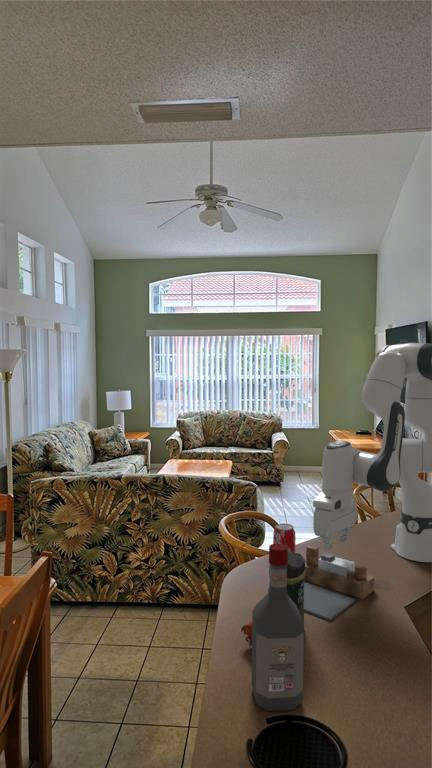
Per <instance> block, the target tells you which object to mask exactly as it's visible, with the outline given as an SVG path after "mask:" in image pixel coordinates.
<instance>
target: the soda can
mask: <svg viewBox="0 0 432 768" xmlns="http://www.w3.org/2000/svg"><path fill="white" fill-rule="evenodd" d="M294 528H295V527H294V526H293V524H290V523H278V524H276V525H275V528H274V530H273V535H272V536H273V541H272V544H284V545H286V546H288V551H290V552H294V553H296V530H295V529H294Z"/></svg>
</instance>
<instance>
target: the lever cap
mask: <svg viewBox="0 0 432 768" xmlns="http://www.w3.org/2000/svg"><path fill="white" fill-rule="evenodd" d="M318 560H319V562H318V569H319V570H322V571H325V572H328V573H332V574H335V575H338V576H341V577H345V578H348V577H349V576H350V575H352V574H353V573H355V566H356V565H355V564H356V562H355V561H350V560H347V559H344V558H341V557H337V556H336V554H334V553H329V552H324V553H323V554H320V558H318Z"/></svg>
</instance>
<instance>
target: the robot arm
mask: <svg viewBox="0 0 432 768" xmlns="http://www.w3.org/2000/svg"><path fill="white" fill-rule="evenodd" d="M405 379H406V385H405V395H404V396H405V398H404V399H405V400H404V402H405V403H404V406H403V405H402V403H401V394H402V391H403V387H404V384H405ZM361 400H362V402H363V404H364V407H365V408H366V409H367V410H368V411H369V412H370V413H372V414H373V415H375V416H376V417H378V418H380V419H381V421H382V423H383V433H382V440H381V446H380V451H379V452H378V453H373V452H367V451H362V450H360V449H358V448H356V447H355V446H353V445H352V443H351V442H350V441H347V440H334V441H330V442H328V443H327V444H326V445H325V447H324V449H323V453H322V462H321V463H322V464H321V466H322V467H321V474H322V477H323V478H322V484H321V491H319V493H318V495H317V496H316V497H315V498H314V499H313V501H312V507H313V508H314V510H313V524H312V525H313V533H314V535H315V536H316V537H319V538H322V541H323V548H324V550H326V551H330V550H332V549H333V543H332V542H331V538H332V535H335V534H336V533H338V532H340V531H341V533H340V535H339V541H341V542H343V543H346V542H347V541H348V537H349V536H348V535H349V533H350V530H351V526H352V525H354V524H357V520H358V505H357V501H356V500H355V495H354V485H353V484H358V485H361V486H365V487H370V488H372V489H374V490H377V491H379V492H383V493H385V492H388V491H389V490H391V489H393V488H394V487H395V486H396V485H397V484H398V483H399V485H400V488H401V498H402V504H401V505H402V508H401V510H400V516H399V517H400V523H399V524H397V525H396V528H395V529H396V530H395V537H394V540H395V541H394V543H391V545H390V549H392V550H393V551H394V552H395V553H396V554H397V555H398V556H400V557H402V558H403V559H407V560H410V561H413V562H414V561H415V562H420V563H432V484H430V483H428V482H426V481H424V480H423V479H422V478H420V477H419V474H420V473H425V474H428V473H429V474H432V343H430V342H425V343H422V342H421V343H420V342H407V343H397V344H395V343H394V344H386V345H384V346H382V347H380V349H379V350H378V351H377V353H376V356H375V359H374V360H373V362H372V364H371V366H370V369H369V370H368V373H367V376H366V379H365V382H364V384H363V388H362V391H361ZM405 421H406V422H405ZM405 423H407V424H408V425H410V426H411V427H413V428H414V429H416V430H419V431H420V432H421V433H423V435H424V438H408V437H407V438H406V437H405V438H404V430H405Z"/></svg>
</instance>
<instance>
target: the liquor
mask: <svg viewBox="0 0 432 768" xmlns="http://www.w3.org/2000/svg"><path fill="white" fill-rule="evenodd" d="M268 564H269V567H270V577H269V587H268V589H267V594H266V595H264V597H262V599H260V600H259V601H258V602H257V603H256V604H255V605H254V607H253V610H252V612H251V613H252V615H251V616H252V618H251V619H252V620H251V621H252V646H251V687H252V693H253V696H254V699H255V704H256V705H257V706H258V707H259V708H261V709H263V710H265V711H267V712H281V711H282V712H284V711H294V710H296V708H297V707H298V706H300V704H301V703H302V701H303V700H304V655H305V654H304V652H305V651H304V649H305V648H304V647H305V644H304V643H305V640H304V639H305V621H304V622H303V619H302V616H301V614H300V612H299V610H298V608H297V606H296V604H295V603H294V602H293V601H292V600H291V598H290V597H289V596H288V593H287V564H288V546H286V545H284V544H273V543H272V544H270V545H269V547H268Z"/></svg>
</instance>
